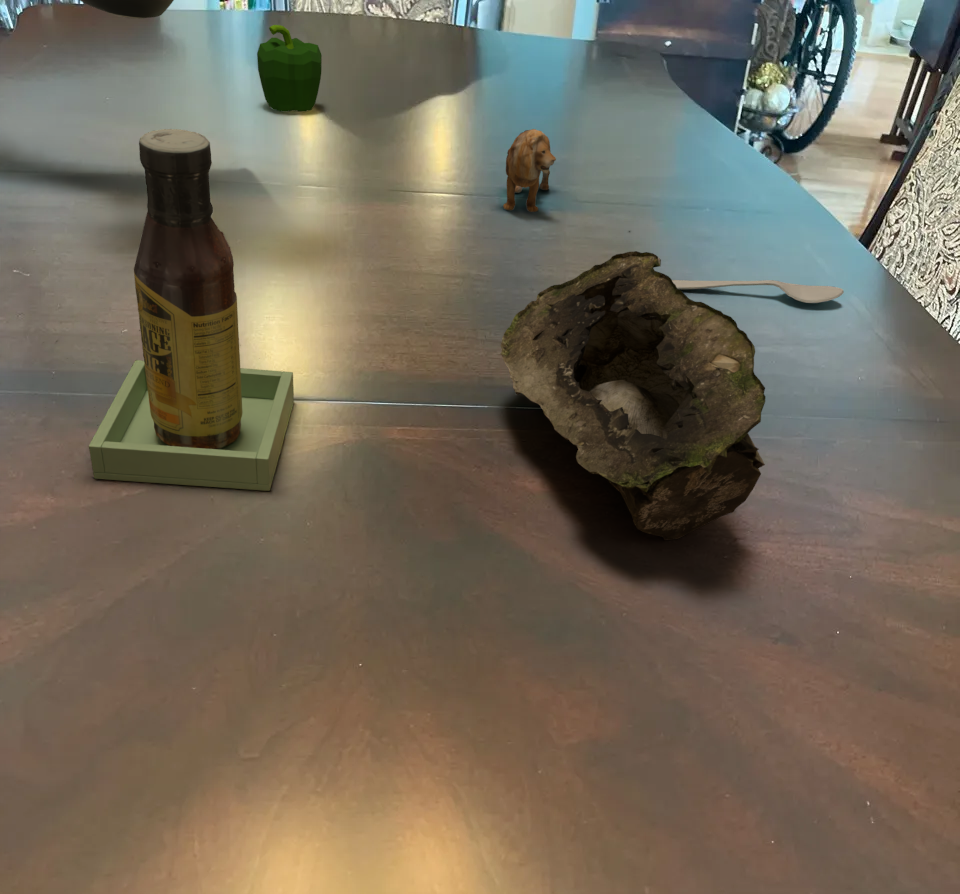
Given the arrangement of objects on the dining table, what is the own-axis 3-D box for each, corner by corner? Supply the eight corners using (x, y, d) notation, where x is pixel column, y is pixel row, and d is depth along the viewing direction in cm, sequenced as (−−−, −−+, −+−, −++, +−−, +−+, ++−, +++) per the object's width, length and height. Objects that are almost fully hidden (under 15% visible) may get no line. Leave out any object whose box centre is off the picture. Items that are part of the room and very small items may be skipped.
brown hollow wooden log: (680, 641, 70) (881, 503, 64) (566, 538, 62) (783, 372, 57) (580, 420, 90) (726, 301, 84) (484, 321, 82) (638, 184, 77)
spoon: (843, 313, 103) (848, 297, 102) (635, 291, 103) (638, 275, 102) (834, 297, 106) (839, 281, 105) (632, 275, 106) (635, 259, 105)
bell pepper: (315, 100, 145) (314, 18, 139) (327, 117, 140) (327, 32, 133) (254, 99, 143) (250, 16, 136) (264, 117, 137) (260, 30, 131)
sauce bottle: (146, 419, 75) (107, 120, 62) (233, 409, 77) (212, 118, 65) (163, 465, 71) (124, 154, 58) (255, 453, 73) (237, 151, 60)
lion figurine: (547, 225, 115) (559, 137, 109) (499, 220, 115) (508, 132, 109) (549, 183, 126) (560, 102, 120) (505, 178, 126) (514, 97, 120)
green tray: (93, 478, 70) (88, 445, 68) (139, 390, 79) (135, 359, 78) (269, 491, 70) (268, 458, 69) (293, 402, 80) (293, 371, 78)
